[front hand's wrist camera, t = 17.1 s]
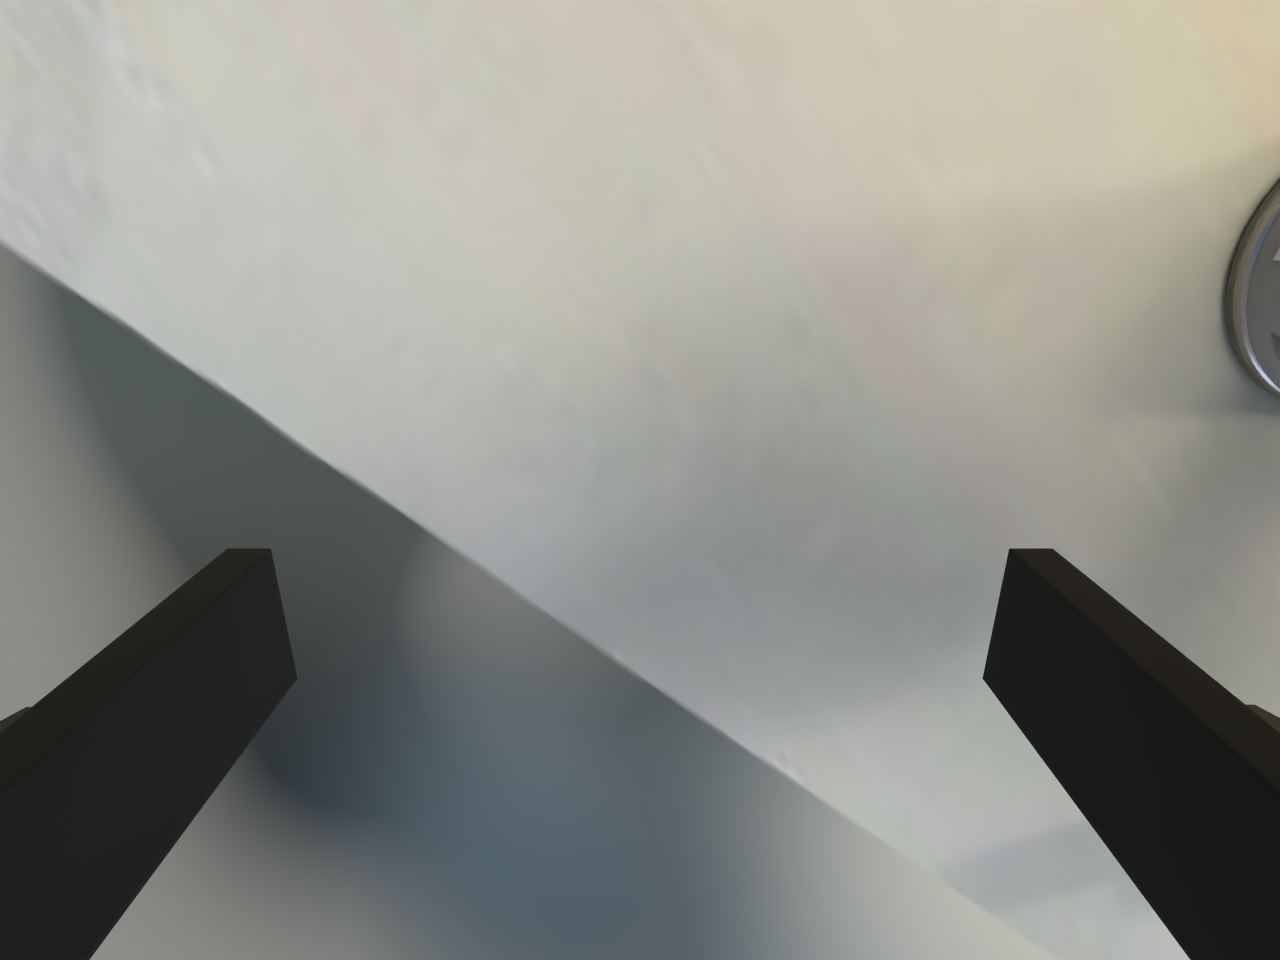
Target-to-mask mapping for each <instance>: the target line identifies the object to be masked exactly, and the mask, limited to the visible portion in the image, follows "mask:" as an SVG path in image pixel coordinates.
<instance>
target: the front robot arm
mask: <svg viewBox="0 0 1280 960" xmlns="http://www.w3.org/2000/svg"><path fill="white" fill-rule="evenodd" d="M1226 320H1227V329H1228V333H1229V337H1230V341H1231V344H1232V347H1233V349H1234V352H1235V354H1236V356H1237V358H1238V360H1239V362H1240V363H1241V365H1242V366H1243V368H1244V369H1245V371H1246V372H1247V373H1248V374H1249V375H1250V376H1251V377H1252V379H1253V380H1254V381H1255V382H1257V383H1258V384H1259V385H1260V386H1261V387H1263V388H1264V389H1266V390H1267V391H1269V392H1270V393H1272V394H1274V395H1276V396H1278V397H1280V182H1279V183H1278V184H1277V185H1276V186H1275V188H1274V189H1273V190H1272V191H1271V193H1270V194H1269V195H1268V196H1267V198H1266V199H1265V200H1264V202H1263V203H1262V205H1261V206H1260V208H1259V209H1258V211H1257V212H1256V214H1255V215H1254V217H1253V219H1252V221H1251V222H1250V224H1249V226H1248V228H1247V229H1246V232H1245V234H1244V236H1243V238H1242V240H1241V242H1240V244H1239V247H1238V250H1237V252H1236V255H1235V258H1234V261H1233V264H1232V268H1231V271H1230V276H1229V281H1228V286H1227V295H1226ZM296 679H297V675H296V670H295V665H294V660H293V655H292V650H291V645H290V641H289V636H288V631H287V626H286V621H285V616H284V611H283V607H282V602H281V597H280V592H279V587H278V582H277V577H276V572H275V567H274V563H273V558H272V553H271V549H226V550H225V551H224V552H223V553H221V554H220V555H219V556H218V557H217V558H215V559H214V560H213V561H212V562H210V563H209V564H208V565H207V566H205V567H204V568H203V569H202V570H200V571H199V572H198V573H197V574H196V575H194V576H193V577H192V578H191V579H189V580H188V581H187V582H186V583H185V584H183V585H182V586H181V587H180V588H178V589H177V590H176V591H175V592H173V593H172V594H171V595H170V596H168V597H167V598H166V599H165V600H163V601H162V602H161V603H160V604H159V605H157V606H156V607H155V608H154V609H152V610H151V611H150V612H149V613H147V614H146V615H145V616H144V617H143V618H141V619H140V620H139V621H138V622H136V623H135V624H134V625H133V626H131V627H130V628H129V629H128V630H126V631H125V632H124V633H123V634H122V635H120V636H119V637H118V638H117V639H115V640H114V641H113V642H112V643H110V644H109V645H108V646H107V647H106V648H104V649H103V650H102V651H100V652H99V653H98V654H97V655H96V656H94V657H93V658H92V659H91V660H89V661H88V662H87V663H86V664H84V665H83V666H82V667H81V668H80V669H78V670H77V671H76V672H75V673H73V674H72V675H71V676H70V677H68V678H67V679H66V680H65V681H64V682H62V683H61V684H60V685H59V686H57V687H56V688H55V689H54V690H52V691H51V692H50V693H49V694H47V695H46V696H45V697H44V698H42V699H41V700H40V701H39V702H38V703H36V704H35V705H34V706H33V707H26V708H24V709H22V710H20V711H18V712H16V713H15V714H13V715H11V716H9V717H7V718H5V719H3V720H2V721H0V960H90V958H91V957H92V956H93V954H94V953H95V951H96V950H97V949H98V947H99V946H100V945H101V943H102V942H103V941H104V939H105V938H106V937H107V935H108V934H109V932H110V931H111V930H112V928H113V927H114V926H115V924H116V923H117V922H118V920H119V919H120V918H121V916H122V915H123V914H124V912H125V911H126V910H127V908H128V907H129V905H130V904H131V903H132V901H133V900H134V899H135V897H136V896H137V895H138V893H139V892H140V891H141V889H142V888H143V887H144V885H145V884H146V882H147V881H148V880H149V878H150V877H151V876H152V874H153V873H154V872H155V870H156V869H157V868H158V866H159V865H160V863H161V862H162V861H163V859H164V858H165V857H166V855H167V854H168V853H169V851H170V850H171V849H172V847H173V846H174V844H175V843H176V842H177V840H178V839H179V838H180V836H181V835H182V834H183V832H184V831H185V830H186V828H187V827H188V826H189V824H190V823H191V821H192V820H193V819H194V817H195V816H196V815H197V813H198V812H199V811H200V809H201V808H202V807H203V805H204V804H205V803H206V801H207V800H208V799H209V797H210V796H211V794H212V793H213V792H214V790H215V789H216V788H217V786H218V785H219V784H220V782H221V781H222V779H223V778H224V777H225V776H226V774H227V773H228V771H229V770H230V769H231V767H232V766H233V765H234V763H235V762H236V761H237V759H238V758H239V757H240V755H241V754H242V752H243V751H244V750H245V748H246V747H247V746H248V744H249V743H250V742H251V740H252V739H253V738H254V736H255V735H256V734H257V732H258V731H259V729H260V728H261V727H262V725H263V724H264V723H265V721H266V720H267V719H268V717H269V716H270V715H271V713H272V712H273V710H274V709H275V708H276V706H277V705H278V704H279V702H280V701H281V700H282V698H283V697H284V696H285V694H286V693H287V691H288V690H289V689H290V688H291V686H292V685H293V683H294V682H295V681H296ZM983 679H984V681H985V682H986V683H987V685H988V686H989V688H990V689H991V690H992V692H993V693H994V694H995V696H996V697H997V698H998V700H999V701H1000V702H1001V704H1002V705H1003V706H1004V708H1005V709H1006V711H1007V712H1008V713H1009V715H1010V716H1011V717H1012V719H1013V720H1014V721H1015V723H1016V724H1017V725H1018V727H1019V728H1020V730H1021V731H1022V732H1023V734H1024V735H1025V736H1026V738H1027V739H1028V740H1029V742H1030V743H1031V744H1032V746H1033V747H1034V748H1035V750H1036V751H1037V753H1038V754H1039V755H1040V757H1041V758H1042V759H1043V761H1044V762H1045V763H1046V765H1047V766H1048V767H1049V769H1050V770H1051V771H1052V773H1053V774H1054V776H1055V777H1056V778H1057V780H1058V781H1059V782H1060V784H1061V785H1062V786H1063V788H1064V789H1065V790H1066V792H1067V793H1068V794H1069V796H1070V797H1071V799H1072V800H1073V801H1074V803H1075V804H1076V805H1077V807H1078V808H1079V809H1080V811H1081V812H1082V813H1083V815H1084V816H1085V817H1086V819H1087V820H1088V822H1089V823H1090V824H1091V826H1092V827H1093V828H1094V830H1095V831H1096V832H1097V834H1098V835H1099V836H1100V838H1101V839H1102V841H1103V842H1104V843H1105V845H1106V846H1107V847H1108V849H1109V850H1110V851H1111V853H1112V854H1113V855H1114V857H1115V858H1116V859H1117V861H1118V862H1119V864H1120V865H1121V866H1122V868H1123V869H1124V870H1125V872H1126V873H1127V874H1128V876H1129V877H1130V878H1131V880H1132V881H1133V882H1134V884H1135V885H1136V887H1137V888H1138V889H1139V891H1140V892H1141V893H1142V895H1143V896H1144V897H1145V899H1146V900H1147V901H1148V903H1149V904H1150V905H1151V907H1152V908H1153V910H1154V911H1155V912H1156V914H1157V915H1158V916H1159V918H1160V919H1161V920H1162V922H1163V923H1164V924H1165V926H1166V927H1167V928H1168V930H1169V931H1170V933H1171V934H1172V935H1173V937H1174V938H1175V939H1176V941H1177V942H1178V943H1179V945H1180V946H1181V947H1182V949H1183V950H1184V951H1185V953H1186V954H1187V956H1188V957H1189V958H1190V960H1280V718H1279V717H1277V716H1275V715H1273V714H1271V713H1269V712H1267V711H1266V710H1264V709H1262V708H1260V707H1258V706H1256V705H1245V704H1244V703H1242V702H1241V701H1240V700H1239V699H1238V698H1236V697H1235V696H1234V695H1233V694H1231V693H1230V692H1229V691H1228V690H1226V689H1225V688H1224V687H1223V686H1221V685H1220V684H1219V683H1218V682H1217V681H1215V680H1214V679H1213V678H1212V677H1210V676H1209V675H1208V674H1207V673H1205V672H1204V671H1203V670H1202V669H1200V668H1199V667H1198V666H1197V665H1196V664H1194V663H1193V662H1192V661H1191V660H1189V659H1188V658H1187V657H1186V656H1184V655H1183V654H1182V653H1181V652H1180V651H1178V650H1177V649H1176V648H1175V647H1173V646H1172V645H1171V644H1170V643H1168V642H1167V641H1166V640H1165V639H1163V638H1162V637H1161V636H1160V635H1159V634H1157V633H1156V632H1155V631H1154V630H1152V629H1151V628H1150V627H1149V626H1147V625H1146V624H1145V623H1144V622H1142V621H1141V620H1140V619H1139V618H1138V617H1136V616H1135V615H1134V614H1133V613H1131V612H1130V611H1129V610H1128V609H1126V608H1125V607H1124V606H1123V605H1121V604H1120V603H1119V602H1118V601H1117V600H1115V599H1114V598H1113V597H1112V596H1110V595H1109V594H1108V593H1107V592H1105V591H1104V590H1103V589H1102V588H1100V587H1099V586H1098V585H1097V584H1096V583H1094V582H1093V581H1092V580H1091V579H1089V578H1088V577H1087V576H1086V575H1084V574H1083V573H1082V572H1081V571H1080V570H1078V569H1077V568H1076V567H1075V566H1073V565H1072V564H1071V563H1070V562H1068V561H1067V560H1066V559H1065V558H1063V557H1062V556H1061V555H1060V554H1059V553H1057V552H1056V551H1055V550H1054V549H1009V553H1008V558H1007V563H1006V567H1005V572H1004V577H1003V582H1002V587H1001V592H1000V597H999V601H998V606H997V611H996V616H995V621H994V626H993V631H992V636H991V640H990V645H989V650H988V655H987V660H986V665H985V670H984V675H983Z"/></svg>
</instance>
